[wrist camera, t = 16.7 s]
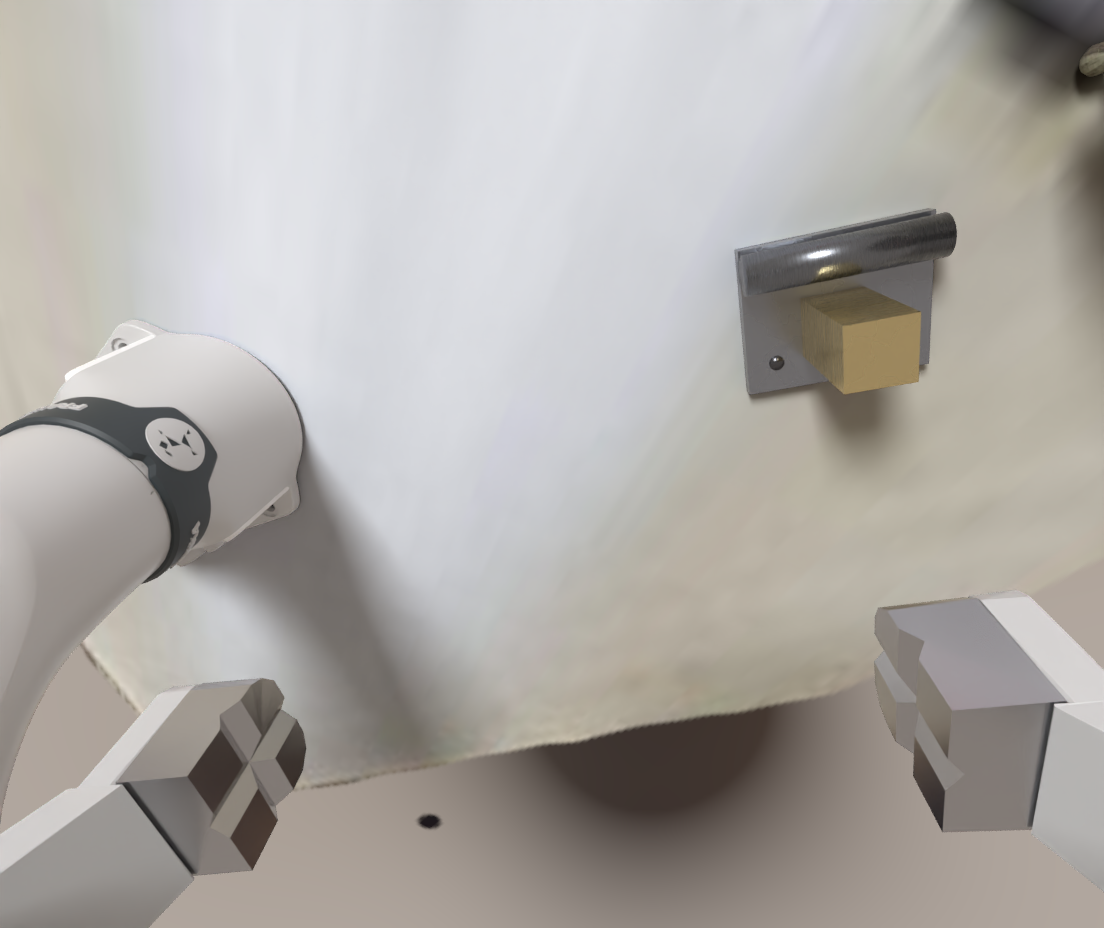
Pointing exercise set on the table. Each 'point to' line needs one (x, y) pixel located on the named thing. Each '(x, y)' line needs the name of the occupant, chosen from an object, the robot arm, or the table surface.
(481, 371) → the table surface
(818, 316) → the tan wooden block
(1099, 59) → the tabletop clock
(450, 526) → the table surface
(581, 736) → the table surface
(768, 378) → the fixed leaf
